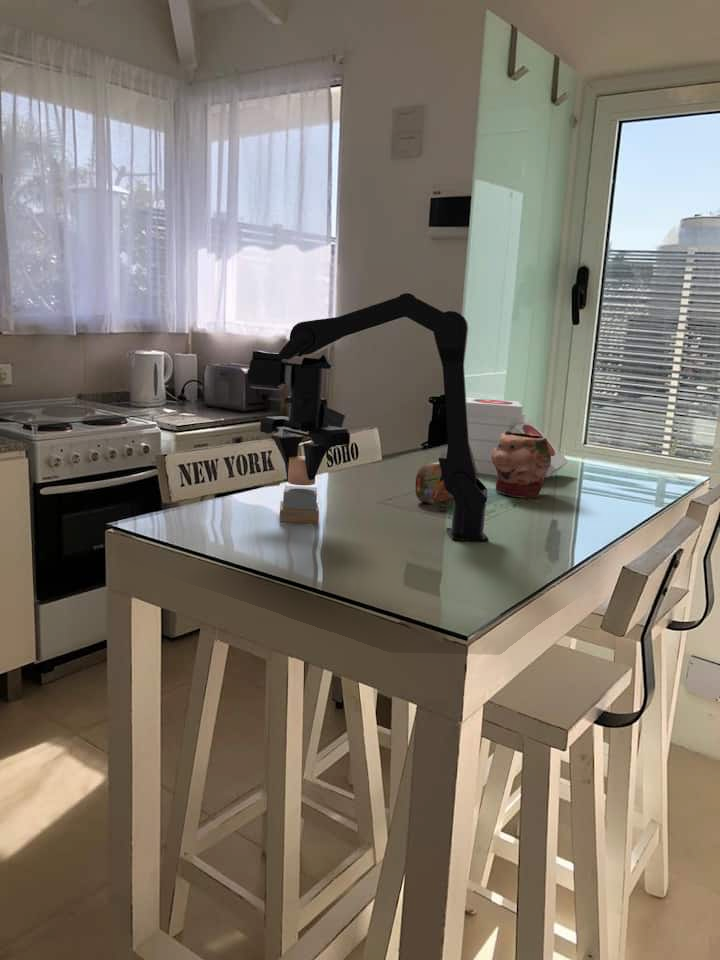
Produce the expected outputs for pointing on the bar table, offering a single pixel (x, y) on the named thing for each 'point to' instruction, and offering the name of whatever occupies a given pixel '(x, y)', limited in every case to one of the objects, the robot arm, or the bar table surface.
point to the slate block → (300, 498)
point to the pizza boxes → (500, 431)
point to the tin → (431, 484)
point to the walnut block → (299, 515)
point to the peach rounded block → (298, 471)
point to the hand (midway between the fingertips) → (301, 476)
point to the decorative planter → (521, 464)
